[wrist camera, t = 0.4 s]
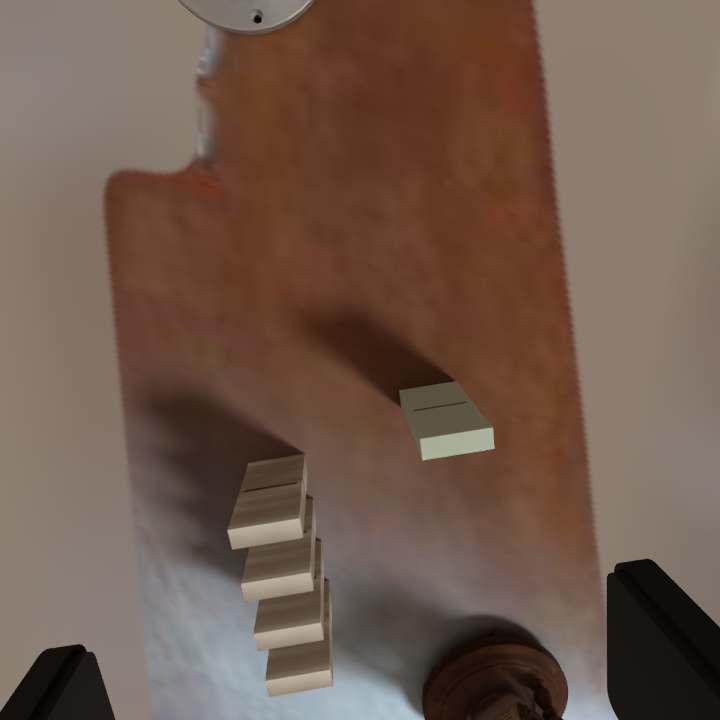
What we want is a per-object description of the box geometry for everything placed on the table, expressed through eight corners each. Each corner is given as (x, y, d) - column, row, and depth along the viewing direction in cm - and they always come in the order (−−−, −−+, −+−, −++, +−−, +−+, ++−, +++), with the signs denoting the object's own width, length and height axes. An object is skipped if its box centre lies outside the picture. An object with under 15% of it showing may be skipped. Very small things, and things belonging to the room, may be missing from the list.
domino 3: (268, 548, 47) (253, 633, 37) (321, 540, 47) (320, 622, 37) (271, 563, 47) (257, 651, 38) (324, 554, 47) (323, 640, 38)
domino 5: (398, 389, 43) (419, 438, 34) (455, 381, 44) (492, 427, 34) (401, 407, 44) (422, 460, 34) (457, 398, 44) (494, 448, 34)
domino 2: (258, 506, 46) (240, 583, 36) (313, 497, 46) (309, 572, 36) (262, 522, 46) (245, 602, 36) (316, 513, 46) (313, 590, 37)
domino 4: (277, 588, 48) (265, 680, 38) (328, 579, 48) (329, 669, 39) (280, 602, 49) (269, 697, 39) (331, 594, 49) (333, 686, 39)
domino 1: (248, 462, 44) (227, 529, 35) (304, 453, 44) (298, 518, 35) (252, 478, 45) (232, 549, 35) (307, 469, 45) (303, 538, 35)
